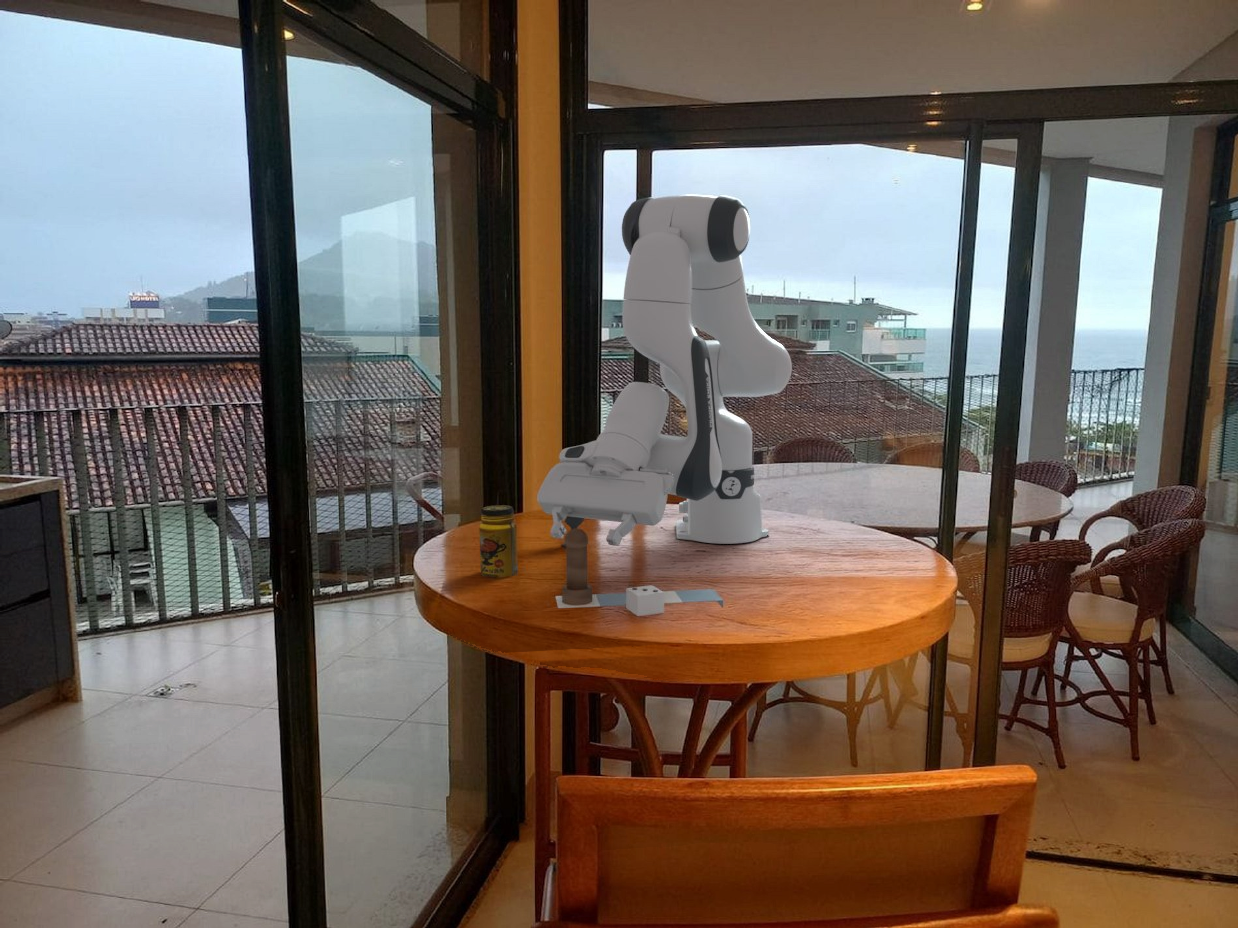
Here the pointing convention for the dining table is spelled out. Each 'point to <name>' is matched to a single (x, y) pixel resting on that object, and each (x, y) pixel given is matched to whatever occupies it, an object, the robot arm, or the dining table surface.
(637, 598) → the die
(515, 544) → the condiment
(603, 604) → the board
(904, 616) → the dining table surface
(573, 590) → the pawn
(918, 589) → the dining table surface
